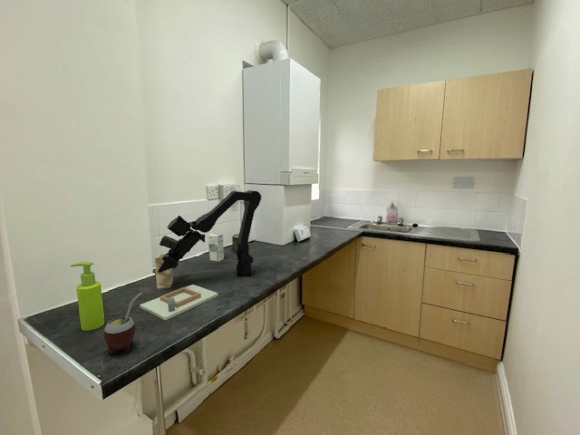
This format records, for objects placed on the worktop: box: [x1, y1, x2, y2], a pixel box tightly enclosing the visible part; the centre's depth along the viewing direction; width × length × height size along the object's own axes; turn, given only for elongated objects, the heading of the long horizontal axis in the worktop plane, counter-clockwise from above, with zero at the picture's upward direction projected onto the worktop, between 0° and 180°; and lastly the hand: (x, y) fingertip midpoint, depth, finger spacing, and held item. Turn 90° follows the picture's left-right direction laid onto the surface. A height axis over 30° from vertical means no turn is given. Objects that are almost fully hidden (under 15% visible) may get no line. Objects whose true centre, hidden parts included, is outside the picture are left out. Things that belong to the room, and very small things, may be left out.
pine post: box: [154, 253, 174, 290], centre depth 114 cm, size 5×5×13 cm
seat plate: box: [139, 284, 219, 321], centre depth 101 cm, size 22×15×5 cm
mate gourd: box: [103, 292, 142, 357], centre depth 73 cm, size 8×8×15 cm
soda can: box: [231, 233, 239, 244], centre depth 157 cm, size 7×7×12 cm
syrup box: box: [207, 232, 225, 263], centre depth 148 cm, size 6×6×14 cm
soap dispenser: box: [70, 261, 105, 332], centre depth 83 cm, size 6×7×20 cm
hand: (160, 269), depth 113 cm, fingers closed on pine post, 5 cm apart
